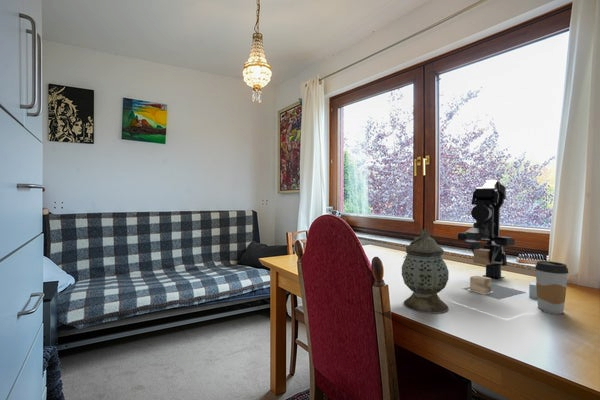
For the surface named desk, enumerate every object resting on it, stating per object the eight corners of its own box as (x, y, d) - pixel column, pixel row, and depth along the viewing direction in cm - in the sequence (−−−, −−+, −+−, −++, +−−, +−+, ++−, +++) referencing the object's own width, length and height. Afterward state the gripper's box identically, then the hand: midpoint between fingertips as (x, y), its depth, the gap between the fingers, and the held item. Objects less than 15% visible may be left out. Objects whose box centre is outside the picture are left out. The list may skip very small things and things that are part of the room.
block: (532, 295, 114) (532, 281, 114) (549, 298, 111) (549, 284, 111) (529, 298, 111) (529, 284, 111) (546, 301, 107) (547, 287, 107)
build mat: (488, 283, 129) (488, 282, 129) (526, 293, 116) (526, 292, 116) (461, 289, 120) (461, 288, 120) (498, 300, 108) (499, 299, 108)
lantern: (427, 317, 92) (428, 232, 92) (392, 302, 105) (393, 228, 104) (458, 309, 98) (459, 231, 98) (421, 296, 111) (422, 226, 111)
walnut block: (481, 261, 121) (481, 248, 121) (494, 263, 117) (494, 250, 117) (473, 262, 119) (473, 249, 119) (486, 264, 114) (486, 251, 114)
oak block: (477, 288, 121) (478, 275, 121) (491, 291, 117) (491, 278, 116) (470, 289, 119) (470, 276, 119) (483, 293, 114) (483, 279, 114)
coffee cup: (560, 307, 101) (561, 261, 101) (573, 317, 93) (574, 267, 93) (530, 304, 104) (530, 259, 104) (540, 313, 96) (541, 264, 96)
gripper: (448, 219, 122) (447, 258, 122) (498, 222, 106) (497, 268, 106) (466, 218, 127) (465, 256, 127) (515, 221, 111) (515, 265, 111)
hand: (483, 261), depth 118 cm, fingers closed on walnut block, 5 cm apart
